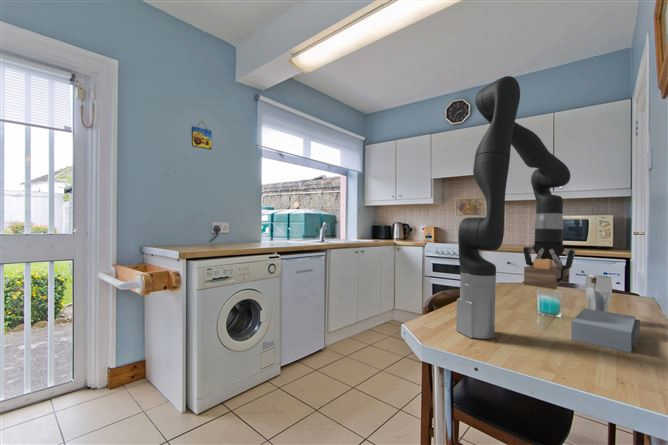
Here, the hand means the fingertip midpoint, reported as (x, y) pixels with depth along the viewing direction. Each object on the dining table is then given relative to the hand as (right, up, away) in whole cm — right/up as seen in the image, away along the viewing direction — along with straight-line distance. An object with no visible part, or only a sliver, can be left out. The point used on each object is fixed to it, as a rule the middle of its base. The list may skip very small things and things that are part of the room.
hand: (547, 280), depth 99 cm
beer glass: (+21, -15, +6) cm, 27 cm away
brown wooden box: (0, -1, 0) cm, 1 cm away
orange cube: (-4, +3, -4) cm, 7 cm away
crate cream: (+5, +3, +4) cm, 7 cm away
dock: (+9, -14, -10) cm, 20 cm away
